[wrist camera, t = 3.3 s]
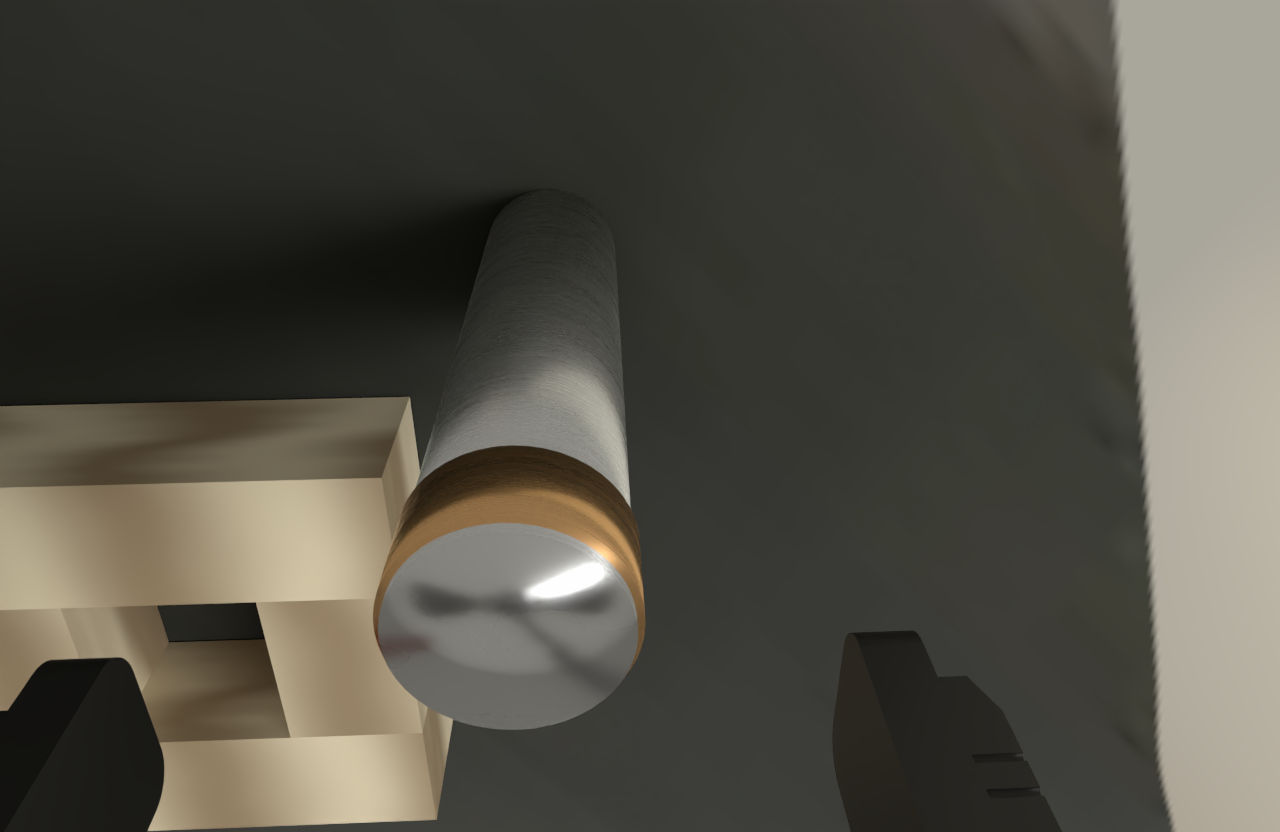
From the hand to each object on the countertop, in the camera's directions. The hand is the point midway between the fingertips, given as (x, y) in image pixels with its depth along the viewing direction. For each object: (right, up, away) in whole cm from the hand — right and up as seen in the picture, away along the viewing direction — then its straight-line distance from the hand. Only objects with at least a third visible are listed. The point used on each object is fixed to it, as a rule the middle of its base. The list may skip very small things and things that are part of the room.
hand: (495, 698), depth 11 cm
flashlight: (-1, +7, +13) cm, 15 cm away
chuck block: (-11, -2, +18) cm, 21 cm away
